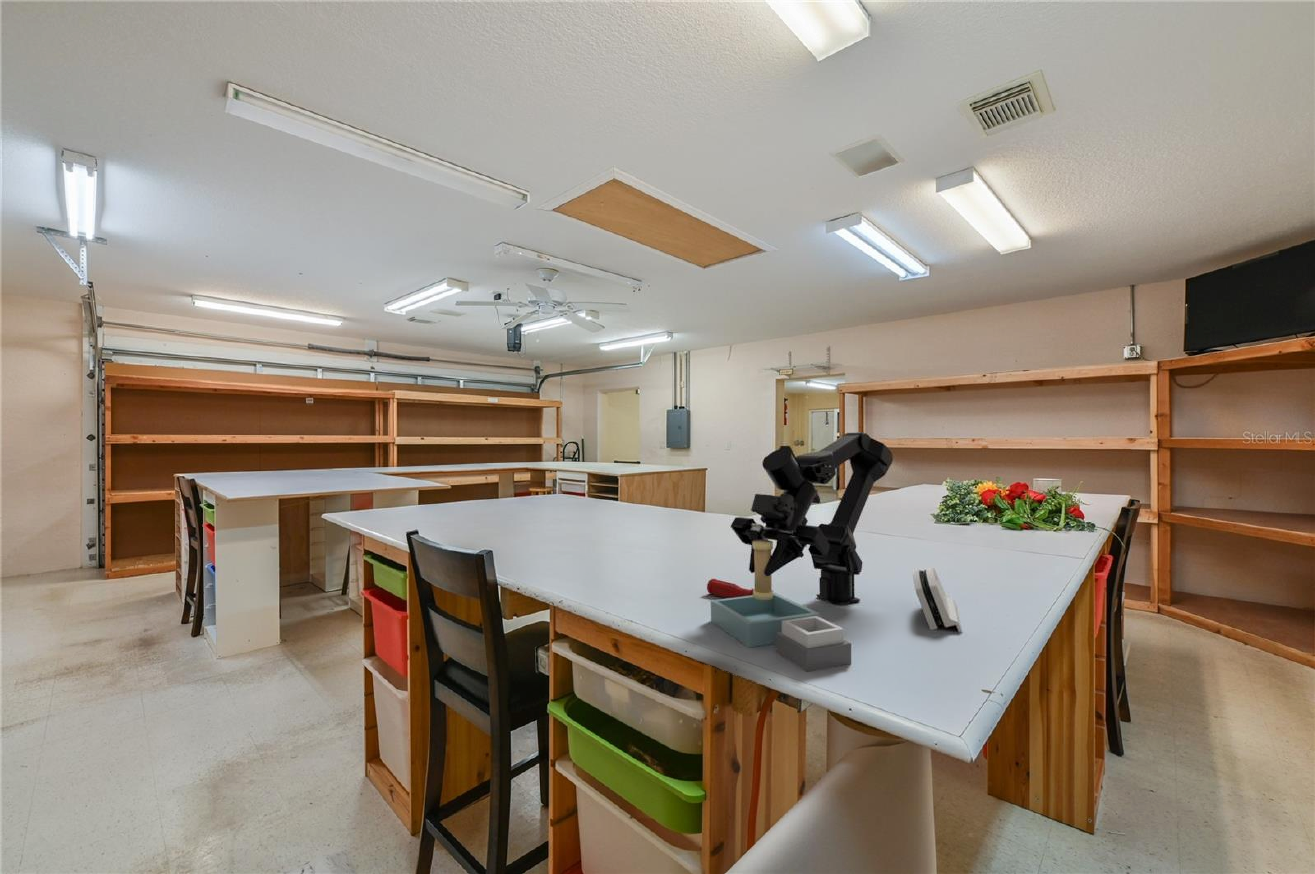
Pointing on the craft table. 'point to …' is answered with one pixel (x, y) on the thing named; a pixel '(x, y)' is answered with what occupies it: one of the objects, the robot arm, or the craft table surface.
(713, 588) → the red tapered rod
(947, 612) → the whiteboard eraser
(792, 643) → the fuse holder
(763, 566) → the cylinder
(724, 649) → the craft table surface
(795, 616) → the parts tray
